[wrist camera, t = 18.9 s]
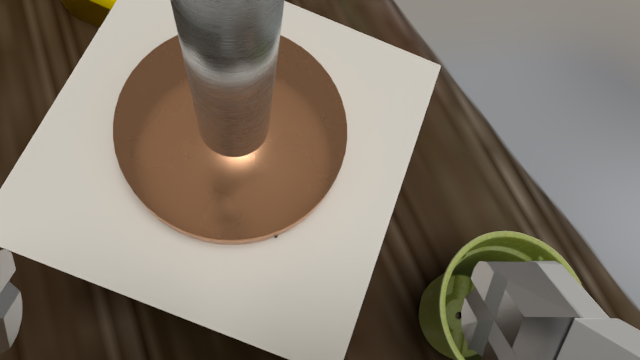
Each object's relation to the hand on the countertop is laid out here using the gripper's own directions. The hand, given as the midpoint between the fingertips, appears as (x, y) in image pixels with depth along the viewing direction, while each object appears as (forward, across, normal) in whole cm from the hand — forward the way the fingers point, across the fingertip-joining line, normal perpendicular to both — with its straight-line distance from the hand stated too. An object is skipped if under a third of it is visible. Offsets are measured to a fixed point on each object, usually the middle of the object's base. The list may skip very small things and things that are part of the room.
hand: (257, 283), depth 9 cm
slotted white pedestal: (+25, +1, +14) cm, 29 cm away
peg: (+22, +1, +11) cm, 25 cm away
